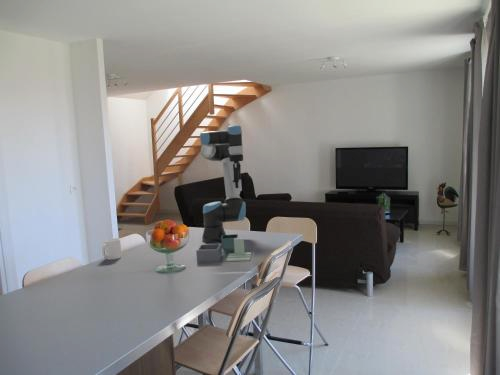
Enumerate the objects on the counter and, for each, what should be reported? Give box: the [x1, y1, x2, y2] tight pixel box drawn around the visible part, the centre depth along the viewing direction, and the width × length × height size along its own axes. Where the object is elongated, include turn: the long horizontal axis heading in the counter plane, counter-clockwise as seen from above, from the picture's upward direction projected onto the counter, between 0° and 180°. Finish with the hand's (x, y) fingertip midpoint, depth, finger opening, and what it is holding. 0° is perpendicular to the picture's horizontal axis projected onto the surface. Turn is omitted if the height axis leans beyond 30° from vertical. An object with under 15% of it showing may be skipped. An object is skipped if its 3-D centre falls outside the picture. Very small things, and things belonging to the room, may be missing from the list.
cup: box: [101, 237, 123, 261], centre depth 224 cm, size 8×12×10 cm
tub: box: [195, 243, 223, 264], centre depth 209 cm, size 12×11×7 cm
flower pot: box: [221, 233, 239, 253], centre depth 223 cm, size 9×9×9 cm
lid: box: [225, 237, 252, 262], centre depth 208 cm, size 13×12×10 cm
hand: (238, 192), depth 227 cm, fingers open, 13 cm apart
